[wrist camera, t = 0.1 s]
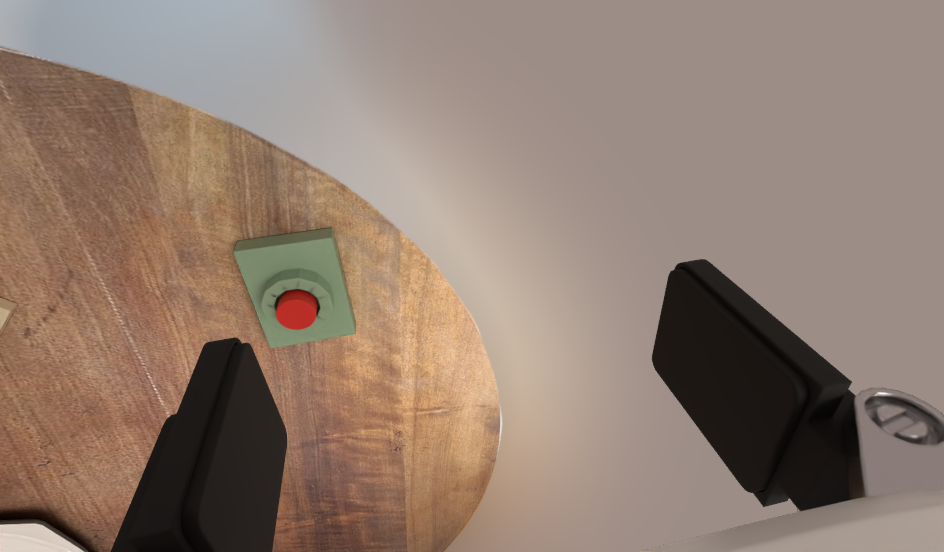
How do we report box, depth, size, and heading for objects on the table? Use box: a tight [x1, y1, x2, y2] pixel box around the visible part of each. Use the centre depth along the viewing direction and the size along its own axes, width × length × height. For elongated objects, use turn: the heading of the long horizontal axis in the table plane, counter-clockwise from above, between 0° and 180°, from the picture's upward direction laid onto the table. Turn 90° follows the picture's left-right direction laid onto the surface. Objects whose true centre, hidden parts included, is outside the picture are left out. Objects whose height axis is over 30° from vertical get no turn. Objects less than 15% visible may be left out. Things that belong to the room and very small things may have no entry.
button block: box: [233, 228, 356, 348], centre depth 48 cm, size 12×9×4 cm
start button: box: [276, 290, 317, 330], centre depth 46 cm, size 4×4×2 cm
